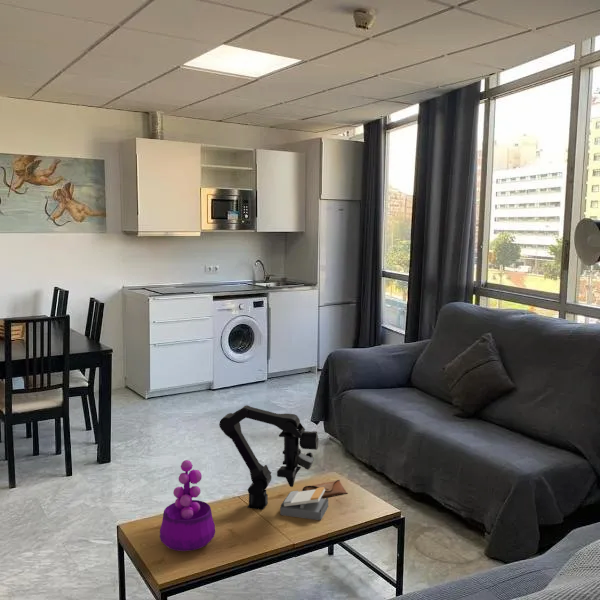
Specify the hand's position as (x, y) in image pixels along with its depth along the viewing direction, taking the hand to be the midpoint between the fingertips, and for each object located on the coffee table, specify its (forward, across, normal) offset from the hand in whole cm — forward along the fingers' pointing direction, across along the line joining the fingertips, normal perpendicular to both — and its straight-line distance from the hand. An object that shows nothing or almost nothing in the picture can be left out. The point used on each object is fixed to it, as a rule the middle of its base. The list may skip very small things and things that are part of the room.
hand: (291, 486), depth 235 cm
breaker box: (+9, 0, -5) cm, 11 cm away
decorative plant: (+9, -36, +27) cm, 46 cm away
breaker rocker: (+4, 0, -5) cm, 6 cm away
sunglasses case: (+10, +18, -9) cm, 22 cm away
